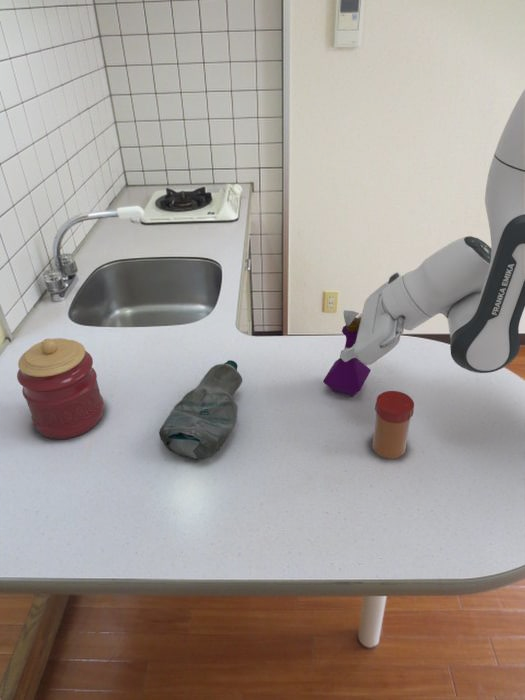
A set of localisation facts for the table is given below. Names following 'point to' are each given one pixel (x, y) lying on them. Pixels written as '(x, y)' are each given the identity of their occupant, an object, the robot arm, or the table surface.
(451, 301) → the robot arm
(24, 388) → the kitchen canister
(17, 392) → the table surface
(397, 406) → the jar lid
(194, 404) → the crushed plastic bottle
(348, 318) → the purple potion bottle
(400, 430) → the jam jar
